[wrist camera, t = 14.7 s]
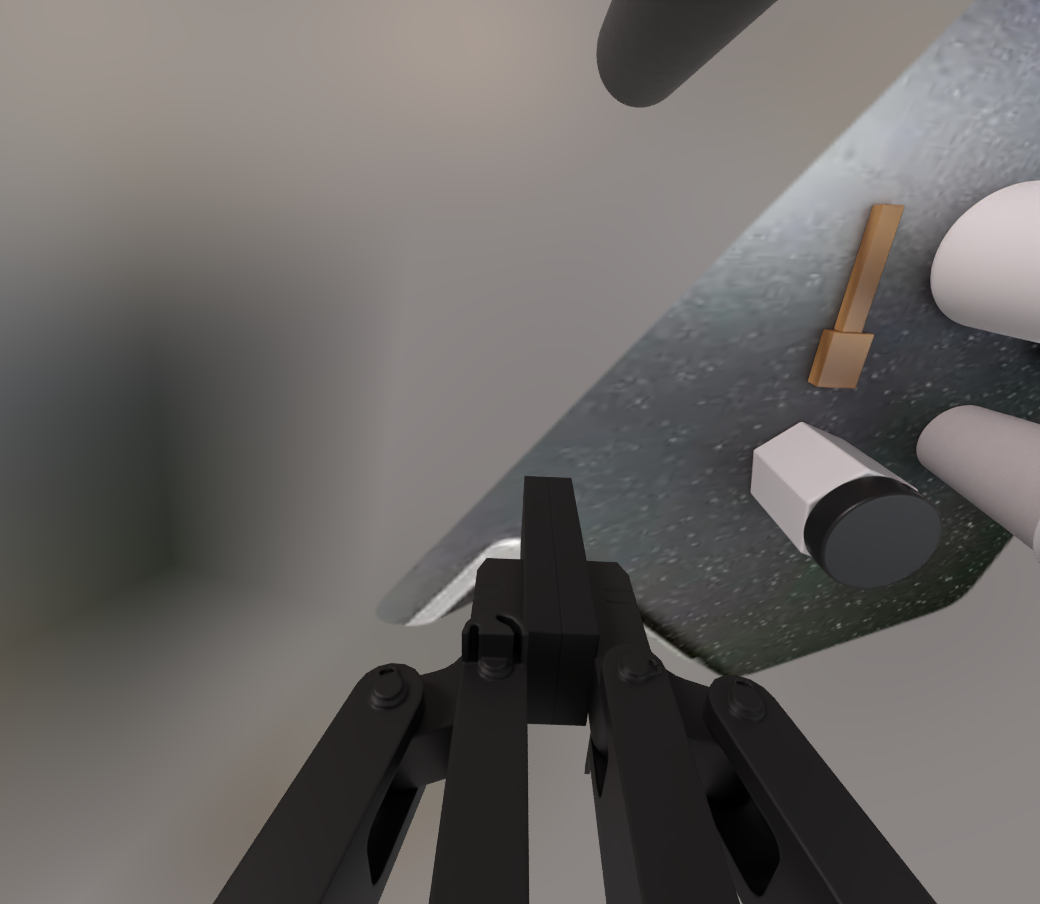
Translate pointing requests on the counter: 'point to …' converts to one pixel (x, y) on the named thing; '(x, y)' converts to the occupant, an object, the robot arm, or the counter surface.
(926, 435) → the coffee cup
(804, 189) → the counter surface
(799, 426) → the jar
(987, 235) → the cup
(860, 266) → the brown wooden bar
